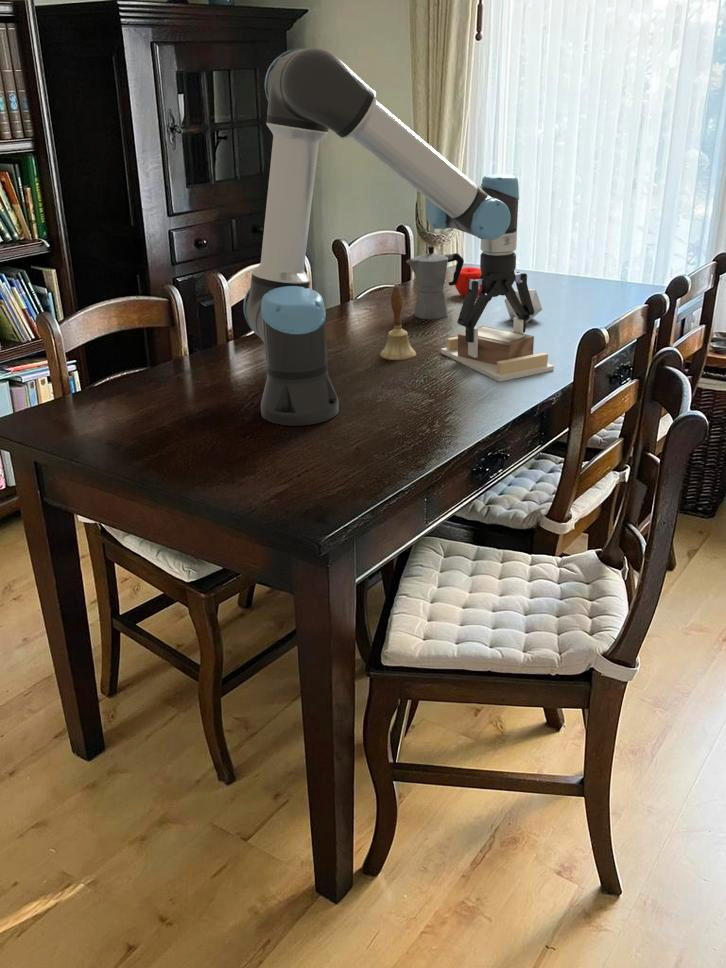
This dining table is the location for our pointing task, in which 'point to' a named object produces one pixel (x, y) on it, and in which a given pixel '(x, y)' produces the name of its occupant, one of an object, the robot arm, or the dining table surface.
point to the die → (511, 312)
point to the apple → (465, 276)
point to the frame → (497, 345)
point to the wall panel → (502, 363)
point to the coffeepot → (433, 282)
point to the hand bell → (397, 333)
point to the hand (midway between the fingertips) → (495, 351)
